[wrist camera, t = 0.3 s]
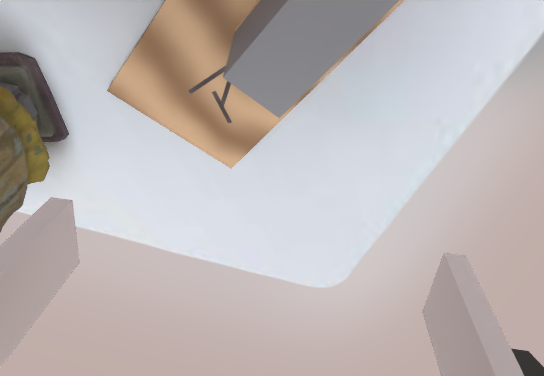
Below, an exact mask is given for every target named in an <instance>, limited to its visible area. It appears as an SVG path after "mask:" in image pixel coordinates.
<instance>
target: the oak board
mask: <svg viewBox="0 0 544 376" xmlns="http://www.w3.org/2000/svg"><path fill="white" fill-rule="evenodd" d="M257 1H258V0H165V2H164V3H163V5H162V7H161V8H160V10H159V11H158V13H157V14H156V16H155V17H154V19H153V20H152V22H151V24H150V25H149V27H148V28H147V30H146V31H145V33H144V34H143V36H142V37H141V39H140V40H139V42H138V44H137V45H136V47H135V48H134V50H133V51H132V53H131V54H130V56H129V57H128V59H127V61H126V62H125V64H124V65H123V67H122V68H121V70H120V71H119V73H118V74H117V76H116V77H115V79H114V81H113V82H112V84H111V85H110V87H109V88H108V90H107V91H108V92H110V93H111V94H113V95H115V96H116V97H118V98H119V99H121V100H123V101H124V102H126V103H127V104H129V105H131V106H132V107H134V108H135V109H137V110H139V111H140V112H142V113H143V114H145V115H147V116H148V117H150V118H151V119H153V120H155V121H156V122H158V123H159V124H161V125H163V126H164V127H166V128H167V129H169V130H170V131H172V132H174V133H175V134H177V135H178V136H180V137H182V138H183V139H185V140H186V141H188V142H190V143H191V144H193V145H194V146H196V147H198V148H199V149H201V150H202V151H204V152H206V153H207V154H209V155H210V156H212V157H214V158H215V159H217V160H218V161H220V162H222V163H223V164H225V165H226V166H228V167H230V168H232V167H233V166H234V165H236V164H237V163H238V162H239V161H240V160H241V159H242V158H243V157H244V156H245V155H246V154H247V153H248V152H249V151H250V150H251V149H252V148H253V147H254V146H255V145H256V144H257V143H258V142H259V141H260V140H261V139H262V138H263V137H264V136H265V135H266V134H267V133H268V132H269V131H270V130H271V129H272V128H274V127H275V126H276V125H277V124H278V123H279V122H280V121H281V120H282V119H283V118H284V117H285V116H286V115H287V114H288V113H289V112H290V111H291V110H292V109H293V108H294V107H295V106H296V105H297V104H298V103H299V102H300V101H301V100H302V99H303V98H304V97H305V96H306V95H307V94H308V93H309V92H310V91H312V90H313V89H314V88H315V87H316V86H317V85H318V84H319V83H320V82H321V81H322V80H323V79H324V78H325V77H326V76H327V75H328V74H329V73H330V72H331V71H332V70H333V69H334V68H335V67H336V66H337V65H338V64H339V63H340V62H341V61H342V60H343V59H344V58H345V57H346V56H347V55H348V54H350V53H351V52H352V51H353V50H354V49H355V48H356V47H357V46H358V45H359V44H360V43H361V42H362V41H363V40H364V39H365V38H366V37H367V36H368V35H369V34H370V33H371V32H372V31H373V30H374V29H375V28H376V27H377V26H378V25H379V24H380V23H381V22H382V21H383V20H384V19H385V18H386V17H388V16H389V15H390V14H391V13H392V12H393V11H394V10H395V9H396V8H397V7H398V6H399V5H400V4H401V3H402V2H403V1H404V0H399V1H398V2H397V3H396V4H395V5H394V6H393V7H392V8H391V9H390V10H389V11H388V12H387V13H386V14H385V15H384V16H383V17H382V18H381V19H380V20H379V21H378V22H377V23H376V24H375V25H374V26H373V27H372V28H371V29H370V30H369V31H368V32H367V33H366V34H365V35H364V36H363V37H362V38H361V39H360V40H359V41H358V42H357V43H356V44H355V45H354V46H353V47H352V48H350V49H349V50H348V51H347V52H346V53H345V54H344V55H343V56H342V57H341V58H340V59H339V60H338V61H337V62H336V63H335V64H334V65H333V66H332V67H331V68H330V69H329V70H328V71H327V72H326V73H325V74H324V75H323V76H322V77H321V78H320V79H319V80H318V81H317V82H316V83H315V84H314V85H313V86H312V87H311V88H310V89H309V90H308V91H307V92H306V93H305V94H304V95H303V96H302V97H301V98H299V99H298V100H297V101H296V102H295V103H294V104H293V105H292V106H291V107H290V108H289V109H288V110H287V111H286V112H285V113H284V114H283V115H282V116H281V117H280V118H278V117H277V116H275V115H274V114H273V113H271V112H270V111H269V110H267V109H266V108H264V107H263V106H262V105H260V104H259V103H257V102H256V101H255V100H253V99H252V98H250V97H249V96H248V95H246V94H245V93H244V92H242V91H241V90H239V89H238V88H237V87H235V86H234V85H232V84H231V83H230V82H228V81H227V80H225V79H224V78H223V75H224V72H225V68H226V64H227V60H228V56H229V53H230V49H231V45H232V41H233V37H234V34H235V30H236V27H237V26H238V25H239V23H240V22H241V21H242V20H243V18H244V17H245V16H246V15H247V13H248V12H249V11H250V10H251V8H252V7H253V6H254V5H255V3H256V2H257Z"/></svg>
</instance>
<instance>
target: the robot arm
mask: <svg viewBox="0 0 544 376" xmlns="http://www.w3.org/2000/svg"><path fill="white" fill-rule="evenodd" d="M78 264H79V253H78V246H77V236H76V227H75V219H74V210H73V202H72V200H67V199H59V198H52V197H51V198H50V199H49V200H48V201H47V202H46V203H45V204H44V205H42V206H41V207H40V208H39V209H38V210H37V211H36V212H35V213H34V214H33V215H32V216H31V217H30V218H29V219H28V220H27V221H26V222H25V223H24V224H22V226H20V227H19V228H18V229H17V230H16V231H15V232H14V233H13V234H12V235H11V236H10V237H9V238H8V239H7V240H6V241H5V242H4V243H2V244H1V245H0V368H1V367H2V366H3V364H4V363H5V361H6V360H7V359H8V358H9V356H10V355H11V354H12V352H13V351H14V349H15V348H16V347H17V345H18V344H19V343H20V341H21V340H22V339H23V337H24V336H25V335H26V333H27V332H28V331H29V329H30V328H31V327H32V325H33V324H34V323H35V321H36V320H37V319H38V317H39V316H40V315H41V313H42V312H43V311H44V309H45V308H46V307H47V305H48V304H49V303H50V301H51V300H52V299H53V297H54V296H55V295H56V293H57V292H58V290H59V289H60V288H61V287H62V285H63V284H64V283H65V281H66V280H67V279H68V277H69V276H70V274H71V273H72V272H73V270H74V269H75V268H76V266H77V265H78ZM423 315H424V318H425V322H426V325H427V329H428V332H429V336H430V339H431V343H432V346H433V349H434V353H435V356H436V359H437V363H438V366H439V370H440V373H441V376H544V367H543V366H542V365H541V364H540V363H539V362H538V361H537V360H536V359H535V358H534V357H533V356H532V354H531V353H530V352H529V351H523V350H516V349H511V347H510V345H509V343H508V341H507V340H506V337H505V335H504V333H503V331H502V329H501V327H500V325H499V323H498V321H497V319H496V317H495V315H494V312H493V310H492V308H491V306H490V304H489V302H488V300H487V298H486V296H485V294H484V292H483V290H482V288H481V286H480V284H479V282H478V279H477V277H476V275H475V273H474V271H473V269H472V267H471V265H470V263H469V261H468V259H467V257H466V256H464V255H456V254H450V253H444V254H443V256H442V259H441V262H440V265H439V268H438V270H437V273H436V276H435V279H434V281H433V284H432V287H431V290H430V293H429V295H428V298H427V301H426V303H425V306H424V309H423Z"/></svg>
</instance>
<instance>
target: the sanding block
mask: <svg viewBox="0 0 544 376" xmlns="http://www.w3.org/2000/svg"><path fill="white" fill-rule="evenodd" d="M398 1H399V0H258V1H257V2H256V3H255V5H254V6H253V7H252V8H251V10H250V11H249V12H248V13H247V15H246V16H245V17H244V18H243V20H242V21H241V22H240V23H239V25H238V26H237V27H236V30H235V34H234V37H233V41H232V45H231V49H230V53H229V56H228V60H227V64H226V68H225V72H224V75H223V78H224V79H225V80H227V81H228V82H230V83H231V84H232V85H234V86H235V87H237V88H238V89H239V90H241V91H242V92H244V93H245V94H246V95H248V96H249V97H250V98H252V99H253V100H255V101H256V102H257V103H259V104H260V105H262V106H263V107H264V108H266V109H267V110H269V111H270V112H271V113H273V114H274V115H275V116H277V117H278V118H280V117H281V116H282V115H283V114H284V113H285V112H286V111H287V110H288V109H289V108H290V107H291V106H292V105H293V104H294V103H295V102H296V101H297V100H298V99H299V98H301V97H302V96H303V95H304V94H305V93H306V92H307V91H308V90H309V89H310V88H311V87H312V86H313V85H314V84H315V83H316V82H317V81H318V80H319V79H320V78H321V77H322V76H323V75H324V74H325V73H326V72H327V71H328V70H329V69H330V68H331V67H332V66H333V65H334V64H335V63H336V62H337V61H338V60H339V59H340V58H341V57H342V56H343V55H344V54H345V53H346V52H347V51H348V50H349V49H350V48H352V47H353V46H354V45H355V44H356V43H357V42H358V41H359V40H360V39H361V38H362V37H363V36H364V35H365V34H366V33H367V32H368V31H369V30H370V29H371V28H372V27H373V26H374V25H375V24H376V23H377V22H378V21H379V20H380V19H381V18H382V17H383V16H384V15H385V14H386V13H387V12H388V11H389V10H390V9H391V8H392V7H393V6H394V5H395V4H396V3H397V2H398Z"/></svg>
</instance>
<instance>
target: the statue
mask: <svg viewBox="0 0 544 376" xmlns="http://www.w3.org/2000/svg"><path fill="white" fill-rule="evenodd" d="M68 135H69V134H68V131H67V129H66V126H65V124H64V122H63V119H62V117H61V115H60V112H59V110H58V107H57V105H56V103H55V100H54V98H53V96H52V93H51V91H50V89H49V87H48V85H47V83H46V81H45V79H44V77H43V75H42V72H41V70H40V68H39V66H38V64H37V62H36V60H35V59H34V58H31V57H28V56H26V55H23V54H20V53H0V232H1V230H2V227H3V226H4V224H5V223H6V221H7V220H8V218H9V217H10V216H11V215H12V214H13V212H15V211H16V210H18V209H19V208H20V207H21V206H22V205H23V201H24V198H25V194H26V190H27V184H31V183H35V182H41V181H43V180H44V179H45V176H46V174H47V171H48V169H49V167H50V166H49V163H48V159H49V155H48V152H47V149H46V146H45V144H44V143H43V142H56V141H60V140H63V139H65V138H66V137H67V136H68Z"/></svg>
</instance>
